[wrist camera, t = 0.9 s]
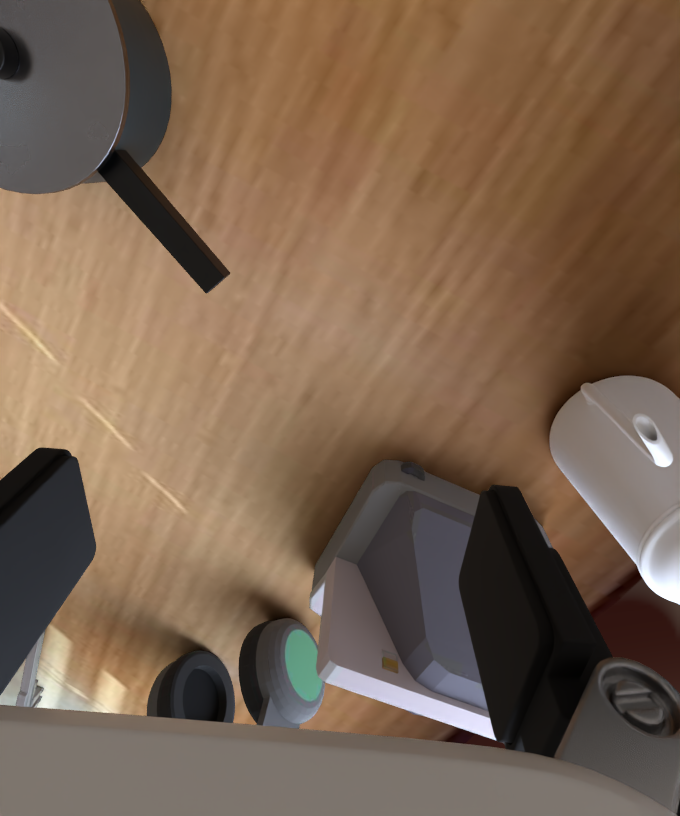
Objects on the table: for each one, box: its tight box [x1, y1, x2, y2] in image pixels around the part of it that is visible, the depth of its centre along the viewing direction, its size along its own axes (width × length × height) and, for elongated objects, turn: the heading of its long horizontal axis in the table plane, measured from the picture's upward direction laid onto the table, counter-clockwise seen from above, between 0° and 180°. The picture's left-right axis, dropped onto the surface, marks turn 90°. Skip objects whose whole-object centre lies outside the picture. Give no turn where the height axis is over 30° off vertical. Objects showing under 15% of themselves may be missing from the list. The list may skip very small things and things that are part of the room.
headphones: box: [147, 618, 325, 729], centre depth 50 cm, size 19×11×20 cm, turn 122°
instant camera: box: [310, 460, 553, 743], centre depth 43 cm, size 21×21×15 cm
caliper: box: [16, 631, 45, 708], centre depth 59 cm, size 20×1×6 cm, turn 161°
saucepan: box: [0, 0, 230, 294], centre depth 29 cm, size 14×23×9 cm, turn 38°
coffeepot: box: [549, 376, 680, 604], centre depth 33 cm, size 11×25×19 cm, turn 41°
